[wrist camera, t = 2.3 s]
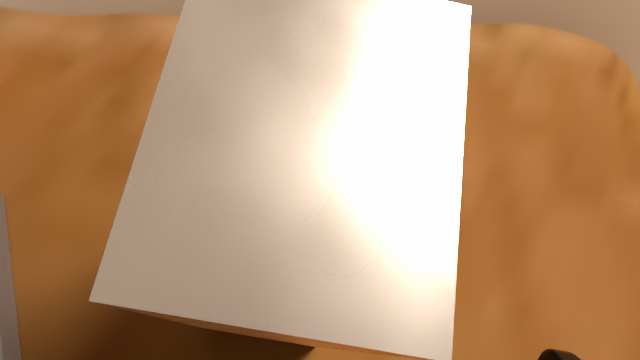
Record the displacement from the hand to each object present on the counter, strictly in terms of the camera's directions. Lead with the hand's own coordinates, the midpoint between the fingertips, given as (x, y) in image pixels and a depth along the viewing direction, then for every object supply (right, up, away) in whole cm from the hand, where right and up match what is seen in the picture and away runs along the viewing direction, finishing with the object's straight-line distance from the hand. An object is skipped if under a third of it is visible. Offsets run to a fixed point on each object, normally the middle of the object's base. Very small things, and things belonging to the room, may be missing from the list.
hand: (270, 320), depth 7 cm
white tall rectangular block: (-1, -1, +10) cm, 10 cm away
